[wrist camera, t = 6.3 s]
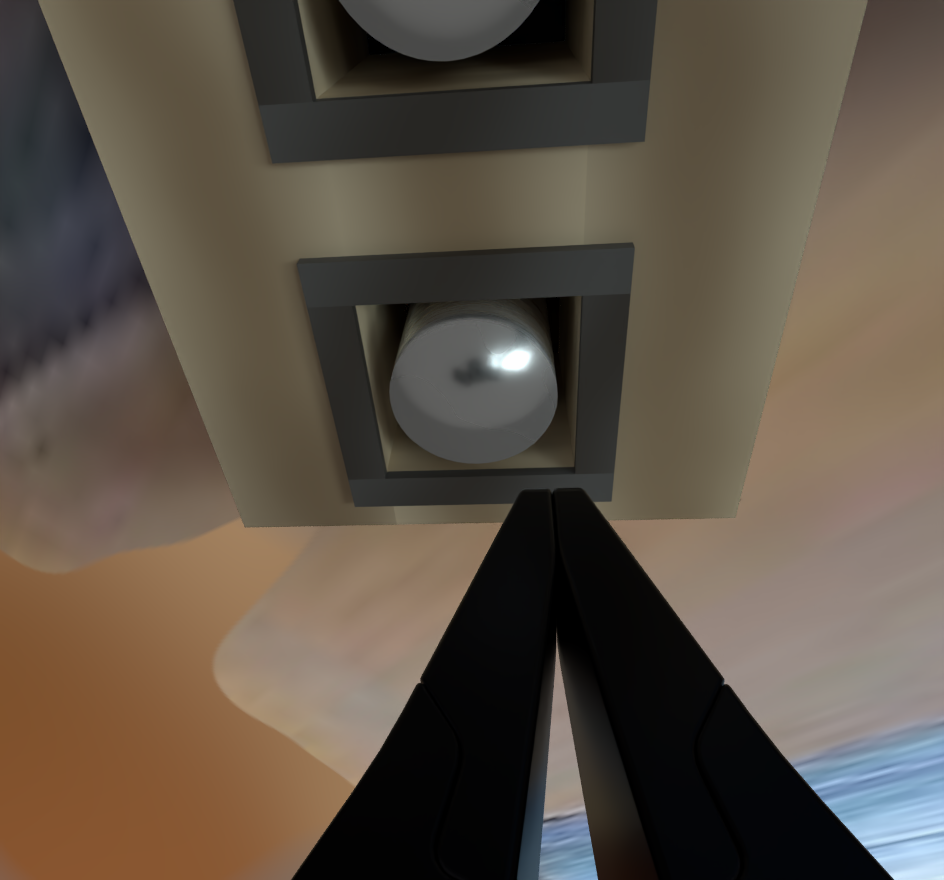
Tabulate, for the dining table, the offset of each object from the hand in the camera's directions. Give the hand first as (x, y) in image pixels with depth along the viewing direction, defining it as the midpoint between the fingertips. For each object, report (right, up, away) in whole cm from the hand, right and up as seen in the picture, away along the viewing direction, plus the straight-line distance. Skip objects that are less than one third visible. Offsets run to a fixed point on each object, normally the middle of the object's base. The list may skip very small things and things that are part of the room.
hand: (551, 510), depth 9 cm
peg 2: (-1, +6, +11) cm, 12 cm away
